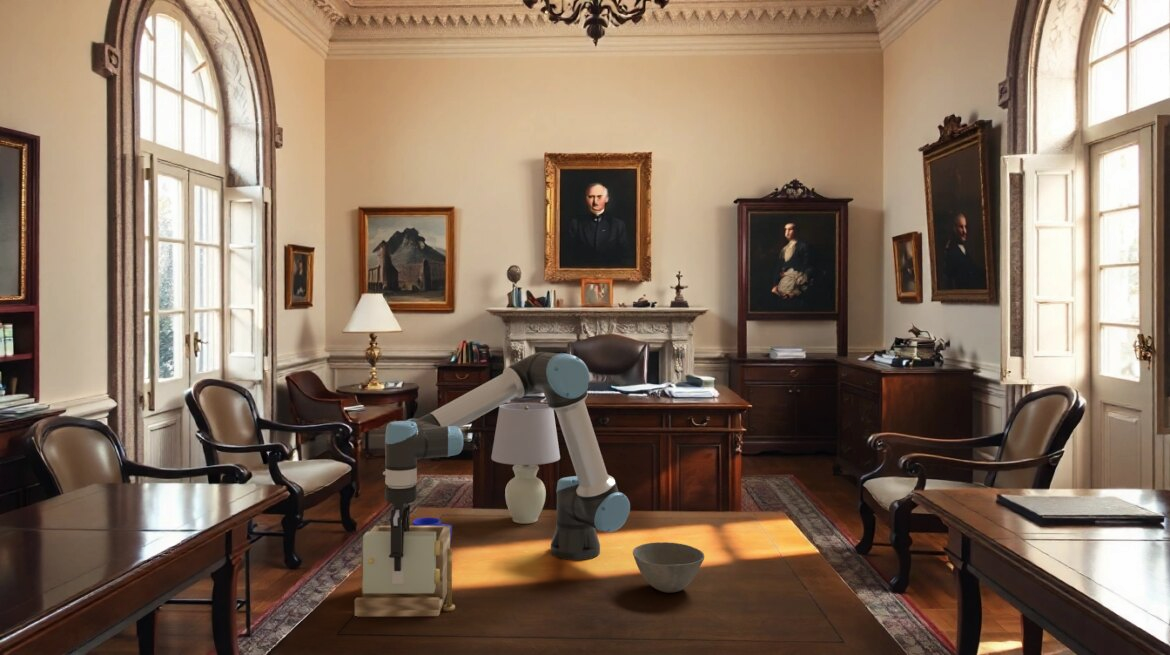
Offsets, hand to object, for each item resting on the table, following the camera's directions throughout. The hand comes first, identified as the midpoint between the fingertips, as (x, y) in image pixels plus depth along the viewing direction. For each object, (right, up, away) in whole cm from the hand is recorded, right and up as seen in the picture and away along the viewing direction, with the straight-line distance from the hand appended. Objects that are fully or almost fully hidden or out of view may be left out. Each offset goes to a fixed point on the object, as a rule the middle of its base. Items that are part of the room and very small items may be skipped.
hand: (399, 579), depth 192 cm
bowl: (+67, -8, +16) cm, 70 cm away
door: (0, -3, 0) cm, 3 cm away
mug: (0, -6, +43) cm, 43 cm away
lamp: (+25, -6, +81) cm, 85 cm away
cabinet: (+1, -7, +7) cm, 10 cm away
